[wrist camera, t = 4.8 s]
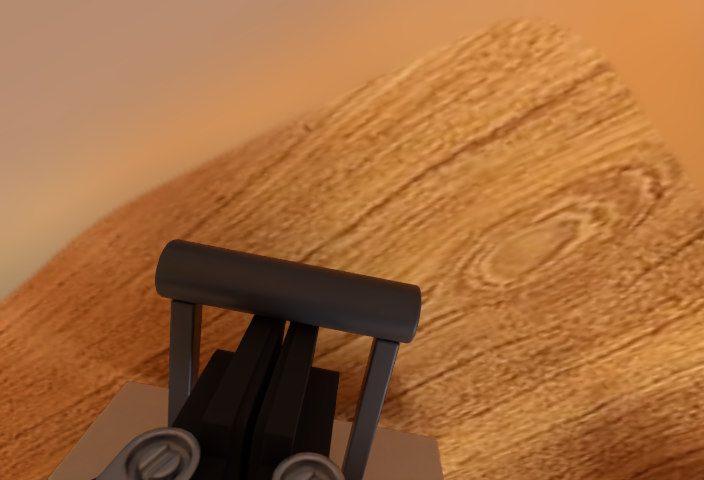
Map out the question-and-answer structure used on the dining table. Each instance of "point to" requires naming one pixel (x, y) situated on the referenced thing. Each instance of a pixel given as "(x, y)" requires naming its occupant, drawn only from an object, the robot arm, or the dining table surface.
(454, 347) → the dining table surface
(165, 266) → the drawer
